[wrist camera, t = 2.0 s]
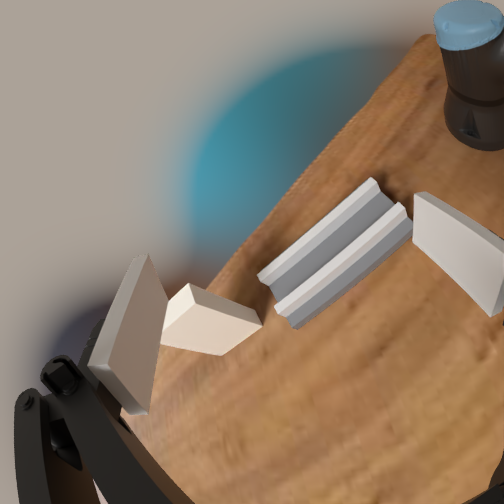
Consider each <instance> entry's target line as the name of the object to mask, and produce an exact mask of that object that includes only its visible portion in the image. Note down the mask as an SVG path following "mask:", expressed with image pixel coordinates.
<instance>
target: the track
mask: <svg viewBox="0 0 504 504" xmlns="http://www.w3.org/2000/svg"><path fill="white" fill-rule="evenodd" d="M411 236H413V221H412V220H411V219H410V218H409V217H408V216H407V213H406V209H405V207H404V206H403V205H401V204H400V203H399V202H397V203H396V204H394V203H393V202H392V201H391V200H390V199H389V198H388V197H387V196H386V195H384V194H383V193H382V192H381V191H380V188H379V186H378V183H377V182H376V181H375V180H374V179H373V178H371V177H370V178H369V179H367V180H366V181H365V182H363V183H362V184H361V185H360V186H359V187H358V188H357V189H356V190H354V191H353V192H352V193H351V194H350V195H349V196H347V197H346V198H345V199H344V200H343V201H342V202H341V203H339V204H338V205H337V206H336V207H335V208H334V209H333V210H331V211H330V212H329V213H328V214H327V215H326V216H324V217H323V218H322V219H321V220H320V221H319V222H317V223H316V224H315V225H314V226H313V227H312V228H310V229H309V230H308V231H307V232H306V233H305V234H303V235H302V236H301V237H300V238H299V239H298V240H296V241H295V242H294V243H293V244H292V245H291V246H289V247H288V248H287V249H286V250H285V251H283V252H282V253H281V254H280V255H279V256H278V257H276V258H275V259H274V260H273V261H272V262H270V263H269V264H268V265H267V266H266V267H264V268H263V269H262V270H261V272H260V273H258V274H257V276H258V278H259V280H260V282H262V283H264V284H266V285H268V286H269V288H270V289H271V291H272V293H273V295H274V297H275V298H276V300H277V302H278V303H277V304H276V305H275V306H274V308H275V309H276V311H277V313H278V314H279V315H281V316H284V317H286V318H287V320H288V322H289V324H290V325H291V327H292V328H294V329H297V330H298V329H299V328H301V327H302V326H303V325H305V324H306V323H307V322H309V321H310V320H311V319H313V318H314V317H315V316H317V315H318V314H319V313H321V312H322V311H323V310H325V309H326V308H327V307H328V306H330V305H331V304H332V303H334V302H335V301H336V300H337V299H339V298H340V297H341V296H342V295H344V294H345V293H346V292H347V291H349V290H350V289H351V288H352V287H354V286H355V285H356V284H357V283H358V282H360V281H361V280H362V279H363V278H365V277H366V276H367V275H368V274H369V273H371V272H372V271H373V270H374V269H375V268H376V267H378V266H379V265H380V264H381V263H382V262H383V261H385V260H386V259H387V258H388V257H389V256H390V255H391V254H393V253H394V252H395V251H396V250H397V249H398V248H399V247H400V246H402V245H403V244H404V243H405V242H406V241H407V240H408V239H409V238H410V237H411Z"/></svg>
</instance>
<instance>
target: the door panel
mask: <svg viewBox="0 0 504 504" xmlns="http://www.w3.org/2000/svg"><path fill="white" fill-rule="evenodd" d="M262 326H263V325H262V323H261V321H260V319H259V317H258V315H257V313H256V311H255V310H254V309H251V308H249V307H246V306H243V305H241V304H238V303H236V302H233V301H231V300H228V299H226V298H223V297H221V296H218V295H216V294H214V293H211V292H209V291H206V290H204V289H202V288H199V287H197V286H194V285H192V284H190V283H188V284H187V285H186V286H185V287H184V288H183V289H181V290H180V291H179V292H178V293H177V294H176V295H175V296H174V297H173V298H172V299H171V300H170V301H168V306H167V311H166V315H165V320H164V325H163V330H162V336H161V341H160V344H163V345H168V346H172V347H177V348H182V349H187V350H192V351H197V352H203V353H208V354H214V355H220V356H222V355H223V354H225V353H226V352H228V351H229V350H231V349H232V348H233V347H235V346H236V345H238V344H239V343H240V342H242V341H243V340H245V339H246V338H247V337H249V336H250V335H251V334H253V333H254V332H256V331H257V330H258V329H260V328H261V327H262Z"/></svg>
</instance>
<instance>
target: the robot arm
mask: <svg viewBox="0 0 504 504" xmlns="http://www.w3.org/2000/svg"><path fill="white" fill-rule="evenodd" d="M433 21H434V26H435V30H436V40H437V43H438V44H439V46H440V49H441V53H442V57H443V61H444V66H445V71H446V76H447V81H448V90H447V94H446V99H445V103H444V115H445V121H446V125H447V127H448V129H449V130H450V132H451V133H452V134H453V135H454V136H455V137H456V138H457V139H458V140H459V141H461V142H462V143H464V144H466V145H468V146H470V147H472V148H475V149H478V150H484V151H496V150H501V149H503V148H504V16H503V15H502V13H501V11H500V10H499V9H498V8H496V7H495V6H494V5H492V4H489V3H483V2H482V1H478V0H458V1H454V2H450V3H447V4H445V5H444V6H442V7H440V8H439V9H438V10H437V11H436V13H435V15H434V20H433ZM412 242H413V243H414V244H415V245H416V246H418V247H419V248H420V249H421V250H422V251H423V252H424V253H426V254H427V255H428V256H429V257H430V258H431V259H432V260H433V261H434V262H435V263H437V264H438V265H439V266H440V267H441V268H442V269H443V270H444V271H445V272H446V273H447V274H448V275H449V276H450V277H451V278H452V279H453V280H454V281H456V282H457V283H458V284H459V285H460V286H461V287H462V288H463V289H464V290H465V291H466V292H467V293H468V294H469V295H470V296H471V297H472V299H473V300H474V301H475V302H476V303H477V304H478V305H479V306H480V307H481V308H482V309H483V310H484V311H485V312H486V313H487V314H488V315H489V317H492V316H494V315H496V314H498V313H499V312H501V311H502V309H503V306H504V240H503V239H502V238H501V237H498V235H496V234H495V233H493V232H492V231H491V230H488V229H486V228H485V227H483V226H482V225H480V224H479V223H477V222H476V221H474V220H473V219H471V218H469V217H468V216H466V215H465V214H463V213H461V212H460V211H458V210H457V209H455V208H453V207H452V206H450V205H448V204H447V203H445V202H443V201H441V200H440V199H438V198H436V197H434V196H433V195H431V194H429V193H427V192H420V193H415V194H414V221H413V241H412ZM167 306H168V299H167V296H166V294H165V292H164V290H163V287H162V285H161V283H160V280H159V278H158V276H157V273H156V271H155V268H154V266H153V264H152V261H151V259H150V256H149V254H146V255H142V256H138V257H134V258H133V260H132V263H131V265H130V267H129V269H128V271H127V273H126V275H125V277H124V279H123V281H122V284H121V286H120V288H119V290H118V292H117V294H116V297H115V299H114V301H113V303H112V306H111V308H110V310H109V313H108V315H107V317H106V319H101V320H100V321H99V322H98V323H97V325H96V326H95V327H94V328H93V330H92V332H91V335H90V337H89V340H88V342H87V344H86V348H85V349H84V351H83V354H82V356H81V358H80V361H79V364H78V366H76V365H75V364H74V362H73V361H72V360H71V359H70V358H69V357H68V356H66V355H60V356H57V357H55V358H53V359H51V360H50V361H49V362H48V363H47V364H46V365H45V367H44V368H43V369H42V372H41V375H40V376H41V381H42V383H43V384H44V385H45V386H46V387H47V388H48V389H49V390H50V391H51V392H52V394H49V395H46V396H42V395H41V394H40V393H39V392H38V391H37V390H36V389H34V388H30V389H27V390H25V391H24V392H22V393H21V395H19V397H18V399H17V401H16V404H15V412H14V451H15V452H14V453H15V469H16V480H17V489H18V497H19V503H20V504H100V501H99V498H98V494H97V491H96V488H95V485H94V481H95V483H96V485H97V486H98V488H99V490H100V491H101V493H102V495H103V496H104V498H105V499H106V501H107V503H108V504H195V503H194V502H193V501H192V500H191V499H190V498H189V497H188V496H187V495H186V494H185V493H184V492H183V491H182V490H181V489H180V488H179V487H178V486H177V485H176V484H175V483H174V481H173V480H172V479H171V478H170V477H169V476H168V475H167V474H166V472H165V471H164V470H163V469H162V468H161V467H160V466H159V464H158V463H157V462H156V461H155V460H154V458H153V457H152V456H151V455H150V453H149V452H148V451H147V450H146V448H145V447H144V446H143V445H142V443H141V442H140V441H139V439H138V438H137V437H136V435H135V434H134V433H133V431H132V430H131V428H130V427H129V426H128V424H127V423H126V421H125V420H124V419H123V418H122V417H121V416H120V412H121V408H122V407H123V408H124V409H125V410H126V412H127V413H128V414H129V415H145V414H149V408H150V401H151V394H152V387H153V381H154V375H155V369H156V363H157V357H158V352H159V346H160V341H161V336H162V330H163V325H164V320H165V315H166V311H167ZM503 326H504V321H503ZM93 479H94V481H93ZM462 504H504V451H503V456H502V459H501V461H500V463H499V465H498V466H497V468H496V470H495V471H494V474H493V476H492V478H491V481H490V484H489V488H488V489H487V490H486V491H484V492H482V493H481V494H479V495H477V496H475V497H474V498H472V499H470V500H468V501H466V502H464V503H462Z"/></svg>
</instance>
